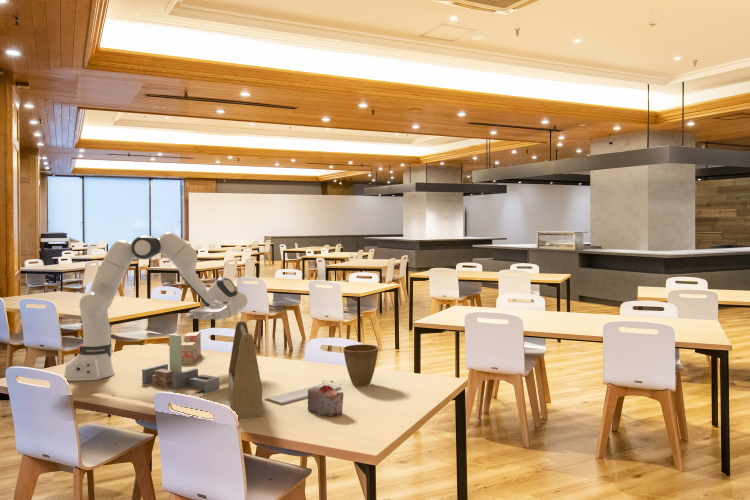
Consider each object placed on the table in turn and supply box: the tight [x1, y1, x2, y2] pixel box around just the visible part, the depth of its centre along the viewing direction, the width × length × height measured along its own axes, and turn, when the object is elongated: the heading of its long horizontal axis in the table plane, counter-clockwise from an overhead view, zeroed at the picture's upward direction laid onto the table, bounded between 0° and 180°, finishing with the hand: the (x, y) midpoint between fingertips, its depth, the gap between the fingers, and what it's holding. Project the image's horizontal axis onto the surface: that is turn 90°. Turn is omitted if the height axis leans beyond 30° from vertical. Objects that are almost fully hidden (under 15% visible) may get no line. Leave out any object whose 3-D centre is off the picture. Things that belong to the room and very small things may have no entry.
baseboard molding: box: [264, 380, 342, 406], centre depth 242 cm, size 31×3×12 cm
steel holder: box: [186, 374, 220, 395], centre depth 248 cm, size 10×8×5 cm
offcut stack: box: [151, 369, 174, 389], centre depth 250 cm, size 9×5×6 cm, turn 61°
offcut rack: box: [141, 363, 199, 390], centre depth 253 cm, size 20×12×8 cm, turn 61°
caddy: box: [228, 320, 263, 419], centre depth 225 cm, size 29×11×30 cm, turn 17°
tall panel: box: [168, 333, 183, 374], centre depth 255 cm, size 6×2×20 cm, turn 61°
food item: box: [307, 385, 344, 417], centre depth 217 cm, size 14×8×10 cm, turn 52°
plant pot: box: [342, 344, 379, 387], centre depth 256 cm, size 15×15×16 cm
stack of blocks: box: [181, 331, 202, 364], centre depth 308 cm, size 21×6×12 cm, turn 6°
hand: (195, 318), depth 264 cm, fingers open, 8 cm apart
